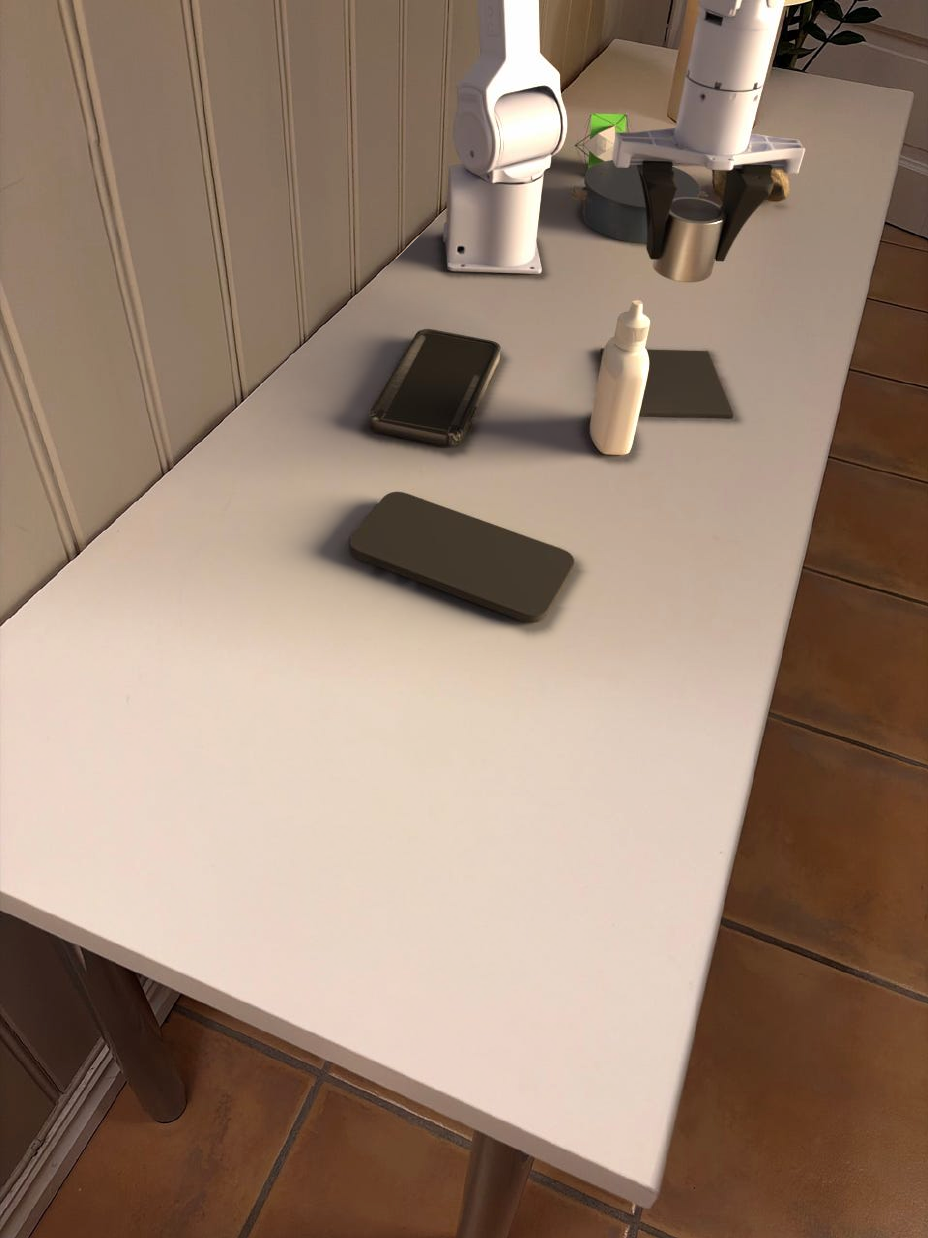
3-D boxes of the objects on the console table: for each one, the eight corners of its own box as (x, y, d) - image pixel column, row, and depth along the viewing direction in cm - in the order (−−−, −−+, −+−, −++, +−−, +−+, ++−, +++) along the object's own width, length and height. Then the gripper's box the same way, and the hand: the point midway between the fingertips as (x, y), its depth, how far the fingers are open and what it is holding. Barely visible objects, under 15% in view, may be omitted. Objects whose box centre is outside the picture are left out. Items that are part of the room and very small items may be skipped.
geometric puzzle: (569, 136, 119) (583, 94, 111) (624, 137, 120) (642, 95, 112) (572, 192, 118) (587, 153, 110) (628, 192, 119) (647, 154, 111)
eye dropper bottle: (573, 446, 79) (596, 310, 71) (598, 411, 83) (622, 278, 74) (623, 463, 78) (653, 327, 70) (646, 427, 82) (677, 294, 73)
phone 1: (365, 418, 78) (419, 326, 88) (365, 430, 79) (419, 337, 89) (460, 438, 77) (504, 342, 87) (459, 449, 78) (503, 353, 88)
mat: (616, 415, 83) (617, 411, 82) (600, 351, 90) (600, 347, 89) (732, 418, 84) (733, 414, 83) (707, 354, 90) (708, 350, 90)
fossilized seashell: (777, 160, 117) (695, 175, 116) (795, 122, 110) (708, 138, 110) (793, 216, 115) (710, 232, 115) (812, 181, 109) (724, 197, 109)
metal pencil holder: (657, 281, 81) (669, 221, 78) (648, 253, 85) (660, 194, 81) (716, 283, 81) (732, 224, 78) (705, 255, 85) (719, 197, 81)
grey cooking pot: (577, 242, 105) (583, 204, 102) (564, 191, 113) (568, 156, 110) (711, 246, 106) (721, 210, 103) (688, 196, 114) (696, 161, 111)
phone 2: (540, 621, 65) (341, 546, 68) (538, 630, 65) (341, 554, 69) (579, 554, 69) (391, 486, 73) (577, 562, 70) (391, 495, 74)
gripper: (637, 93, 69) (606, 275, 79) (836, 101, 70) (781, 280, 80) (621, 59, 74) (593, 235, 84) (808, 68, 75) (759, 240, 85)
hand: (684, 254), depth 82 cm, fingers closed on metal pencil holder, 5 cm apart
